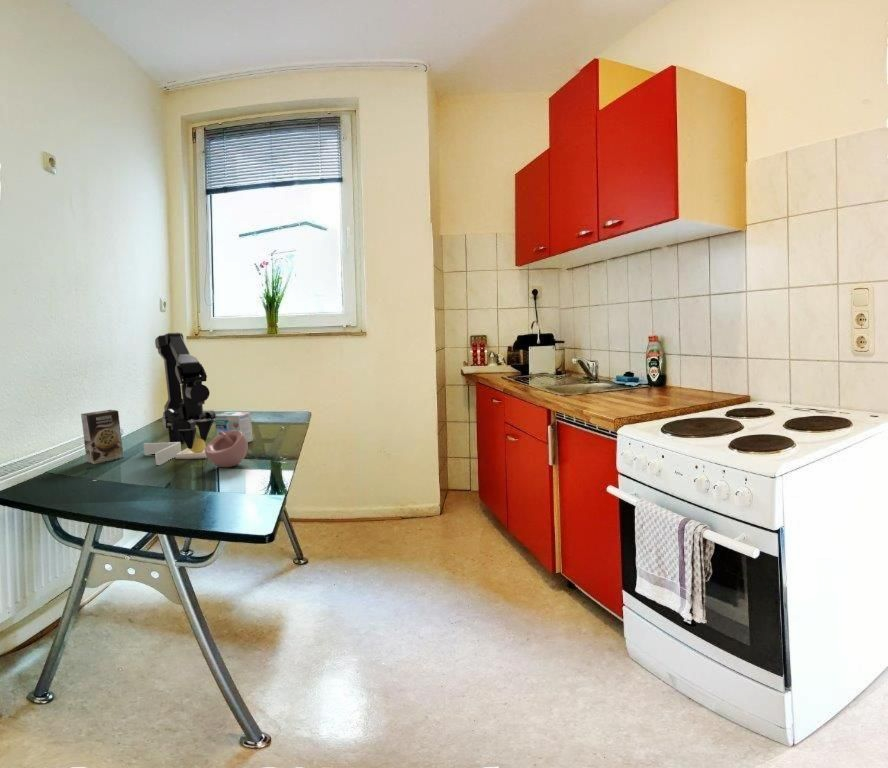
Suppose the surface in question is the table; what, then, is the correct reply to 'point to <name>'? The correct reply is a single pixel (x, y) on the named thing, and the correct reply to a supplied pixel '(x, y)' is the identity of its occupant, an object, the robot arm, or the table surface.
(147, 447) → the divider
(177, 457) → the tray
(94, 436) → the brown upright rectangular box
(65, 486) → the table surface
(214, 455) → the pink slanted bowl
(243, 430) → the light bulb box
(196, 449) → the ball
